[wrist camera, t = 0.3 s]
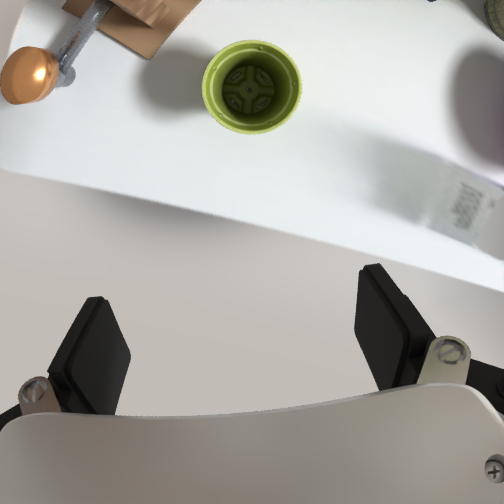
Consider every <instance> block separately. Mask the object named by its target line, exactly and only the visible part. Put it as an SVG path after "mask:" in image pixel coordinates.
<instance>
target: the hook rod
mask: <svg viewBox="0 0 504 504" xmlns="http://www.w3.org/2000/svg"><path fill="white" fill-rule="evenodd" d="M114 5H115V3H113V2H112V1H110V0H94V2H93V3H92V4H91V6H90V7H89V8H88V10H87V11H86V12H85V14H84V15H83V16H82V18H81V19H80V20H79V22H78V23H77V25H76V26H75V27H74V29H73V30H72V32H71V33H70V35H69V36H68V38H67V39H66V41H65V42H64V44H63V45H62V47H61V48H60V50H59V52H58V53H57V55H56V56H55V54H54V53H53V52H52V51H50V50H48V49H43V48H36V47H22V48H20V49H18V50H16V51H15V52H14V53H13V54H12V55H11V56H10V57H9V58H8V60H7V61H6V63H5V65H4V67H3V70H2V73H1V79H0V86H1V91H2V94H3V96H4V98H5V99H6V100H7V101H8V102H10V103H12V104H25V103H33V102H38V101H40V100H42V99H44V98H45V97H47V96H48V95H49V94H50V92H51V91H52V90H53V88H54V87H67V86H69V85H70V84H72V82H73V81H74V79H75V70H74V68H73V67H72V66H71V65H72V63H73V62H74V60H75V58H76V57H77V55H78V54H79V52H80V51H81V49H82V48H83V46H84V45H85V43H86V42H87V41H88V39H89V38H90V36H91V35H92V33H93V32H94V31H95V29H96V28H97V27H98V25H99V24H100V23H101V21H102V20H103V19H104V17H105V16H106V15H107V13H108V12H109V11H110V10H111V8H112V7H113V6H114Z"/></svg>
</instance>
